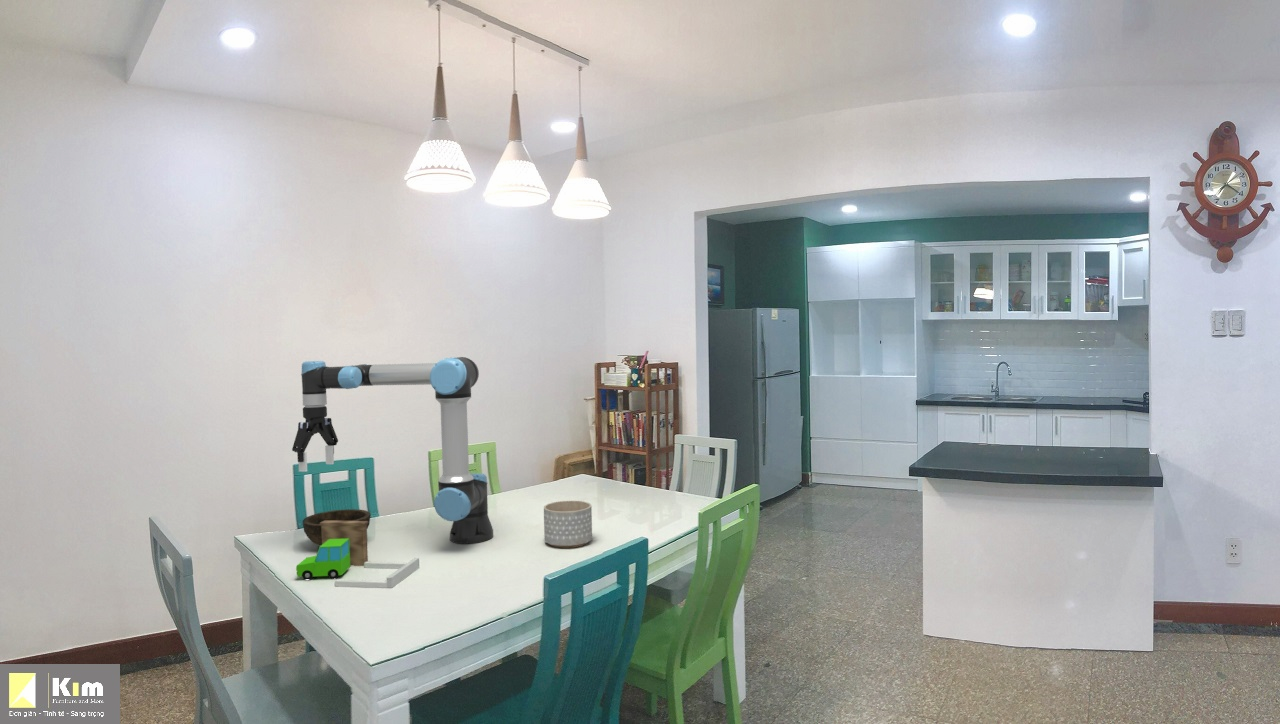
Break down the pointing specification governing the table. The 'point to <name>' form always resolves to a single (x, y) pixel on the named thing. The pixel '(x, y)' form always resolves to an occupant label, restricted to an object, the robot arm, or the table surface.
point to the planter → (567, 523)
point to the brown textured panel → (348, 530)
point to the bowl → (313, 521)
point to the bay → (392, 580)
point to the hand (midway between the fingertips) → (316, 467)
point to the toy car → (327, 560)
